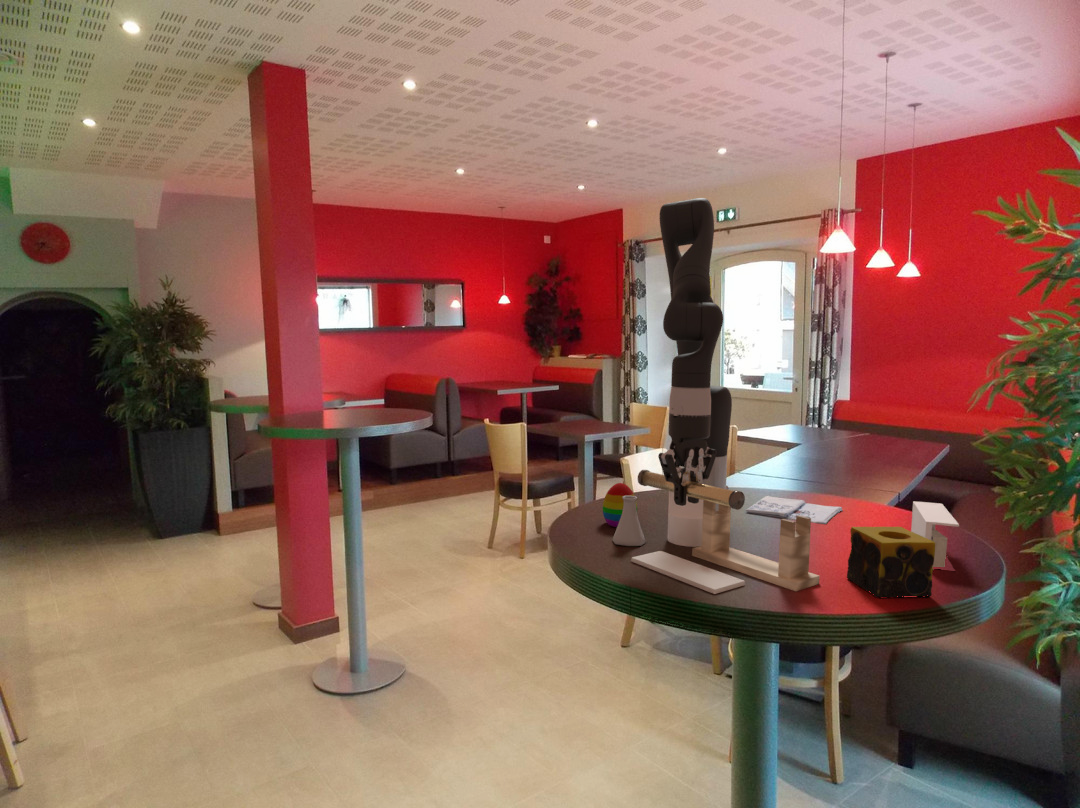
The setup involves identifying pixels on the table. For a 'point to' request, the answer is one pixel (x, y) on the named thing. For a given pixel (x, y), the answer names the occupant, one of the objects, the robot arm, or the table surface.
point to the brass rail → (695, 490)
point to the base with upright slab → (685, 522)
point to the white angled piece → (932, 526)
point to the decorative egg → (615, 503)
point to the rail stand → (785, 573)
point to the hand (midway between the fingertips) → (686, 503)
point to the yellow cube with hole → (891, 561)
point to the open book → (793, 509)
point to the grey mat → (688, 572)
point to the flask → (629, 525)
